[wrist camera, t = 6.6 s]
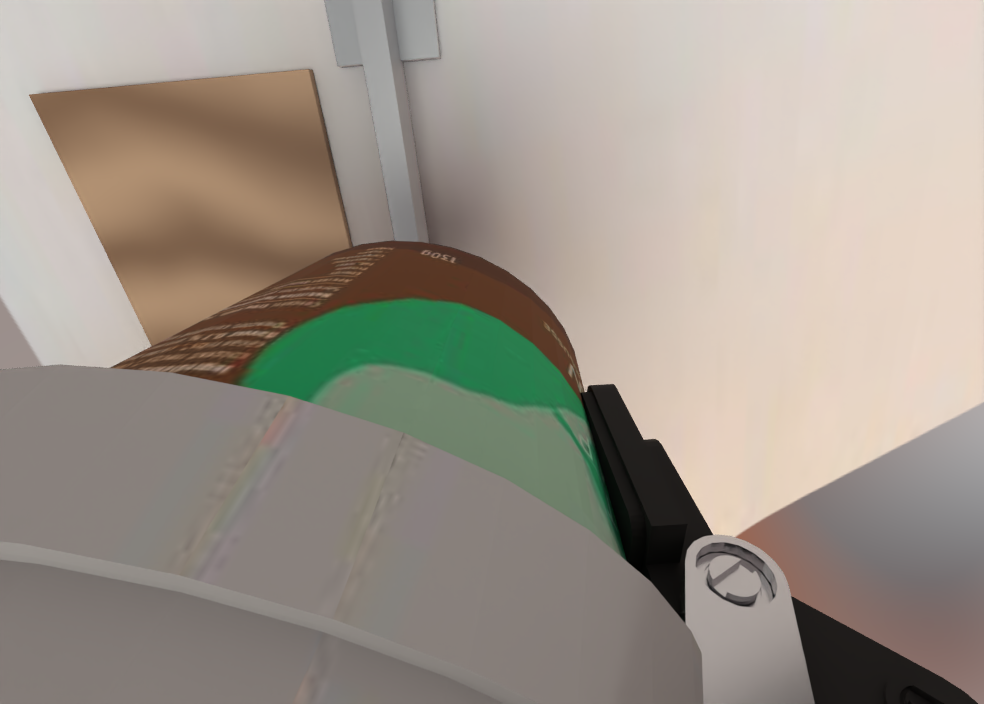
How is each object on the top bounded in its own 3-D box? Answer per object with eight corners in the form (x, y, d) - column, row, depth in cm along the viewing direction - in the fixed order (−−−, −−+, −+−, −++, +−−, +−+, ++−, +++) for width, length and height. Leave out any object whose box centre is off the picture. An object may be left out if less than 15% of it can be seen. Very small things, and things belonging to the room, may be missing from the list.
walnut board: (381, 375, 31) (379, 379, 31) (181, 391, 32) (176, 396, 31) (312, 70, 23) (308, 69, 22) (39, 95, 23) (28, 94, 22)
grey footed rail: (479, 403, 33) (479, 438, 29) (410, 408, 33) (402, 444, 29) (432, -17, 21) (423, -42, 18) (327, -7, 21) (297, -31, 18)
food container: (662, 495, 15) (822, 1061, 6) (488, 526, 16) (428, 1006, 8) (545, 89, 9) (560, 209, 1) (300, 196, 11) (-572, 618, 2)
